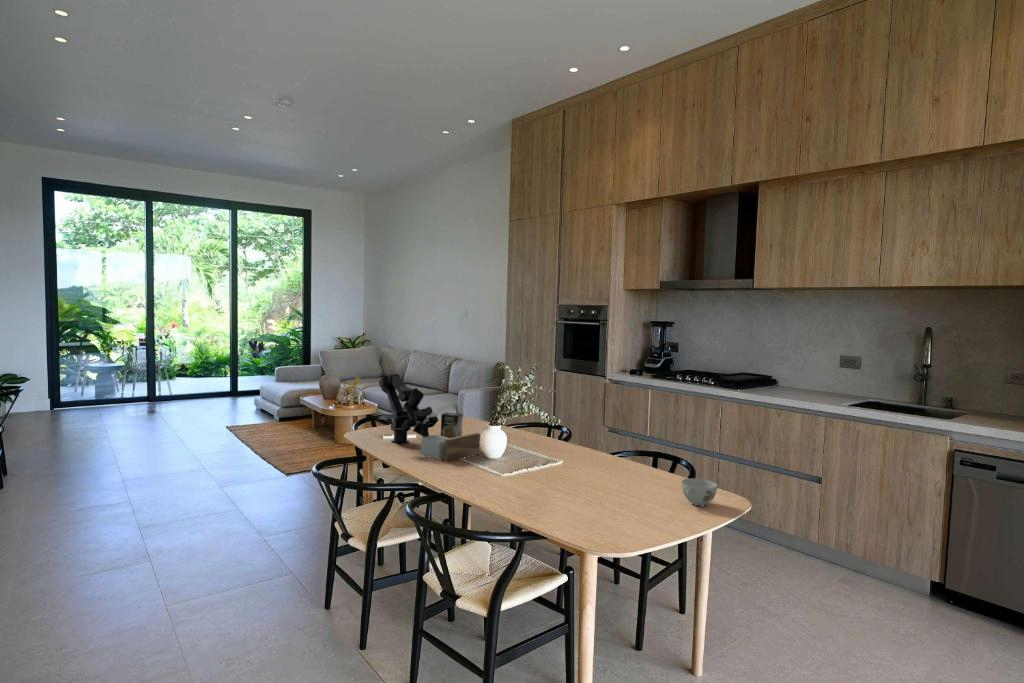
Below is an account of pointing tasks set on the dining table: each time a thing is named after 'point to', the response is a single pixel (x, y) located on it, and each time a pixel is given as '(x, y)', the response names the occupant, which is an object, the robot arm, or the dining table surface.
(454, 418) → the coffee box
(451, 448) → the walnut board
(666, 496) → the dining table surface
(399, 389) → the robot arm
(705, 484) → the teacup
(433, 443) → the grey block
